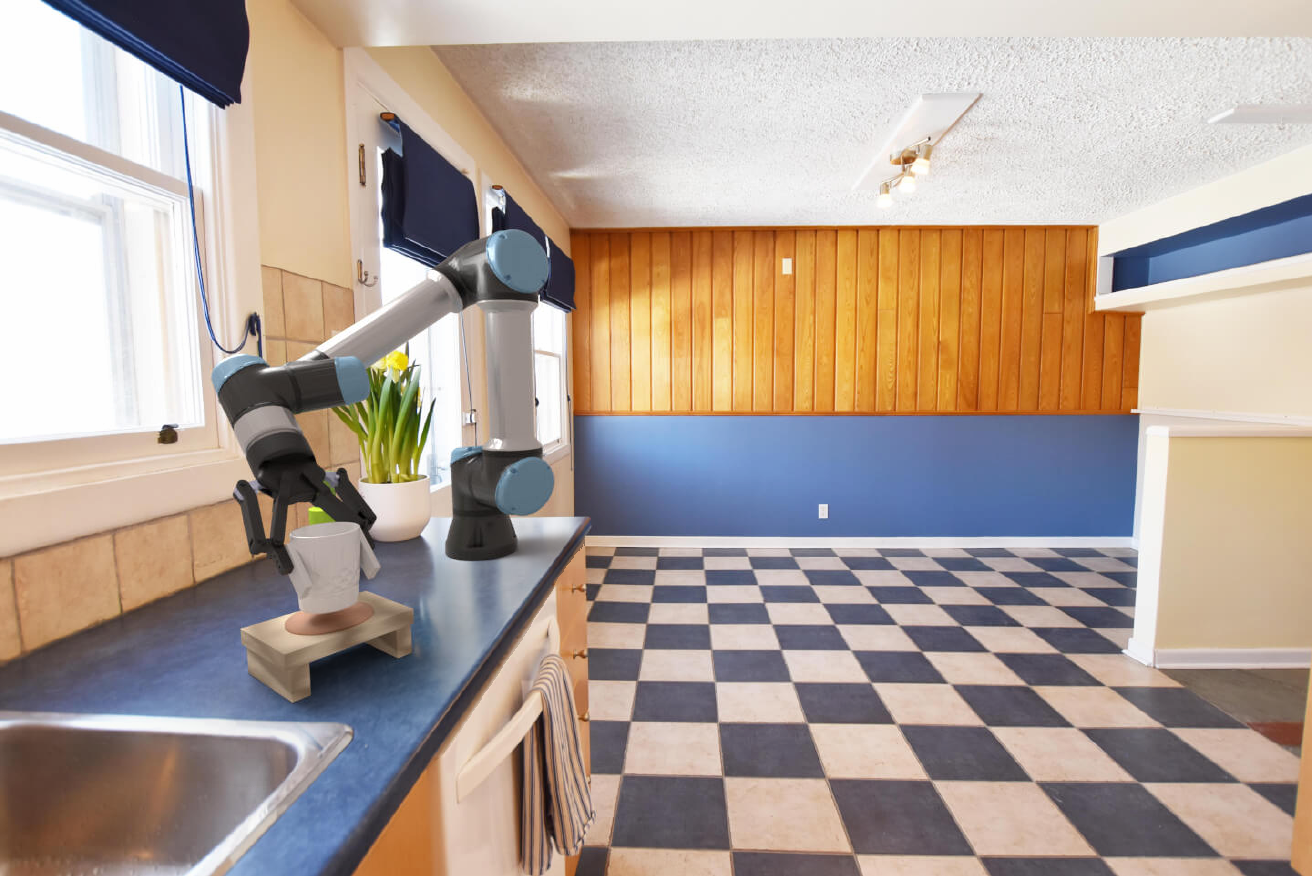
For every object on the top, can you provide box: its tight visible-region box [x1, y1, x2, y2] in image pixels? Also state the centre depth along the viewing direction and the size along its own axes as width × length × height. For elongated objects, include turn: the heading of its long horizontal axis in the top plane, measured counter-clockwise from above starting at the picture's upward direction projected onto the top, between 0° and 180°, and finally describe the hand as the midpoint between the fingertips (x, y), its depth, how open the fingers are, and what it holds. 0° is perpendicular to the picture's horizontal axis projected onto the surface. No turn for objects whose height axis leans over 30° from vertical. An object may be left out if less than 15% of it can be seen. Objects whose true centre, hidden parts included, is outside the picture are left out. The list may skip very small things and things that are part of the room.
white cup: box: [288, 522, 361, 614], centre depth 75 cm, size 8×8×10 cm
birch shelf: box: [240, 590, 415, 704], centre depth 76 cm, size 16×12×6 cm
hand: (341, 582), depth 73 cm, fingers closed on white cup, 8 cm apart
